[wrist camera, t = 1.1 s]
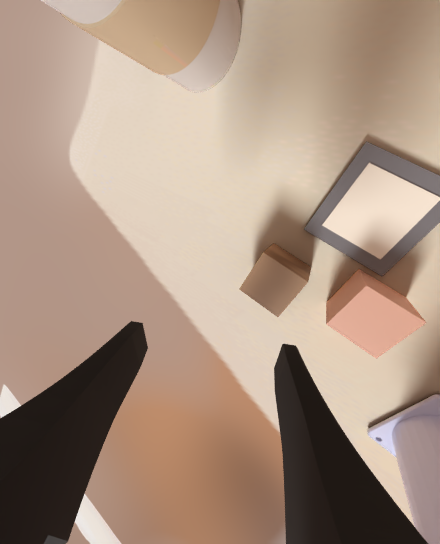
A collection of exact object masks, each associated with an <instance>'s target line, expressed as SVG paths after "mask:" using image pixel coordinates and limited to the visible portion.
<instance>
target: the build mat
mask: <svg viewBox="0 0 440 544" xmlns="http://www.w3.org/2000/svg"><path fill="white" fill-rule="evenodd" d="M438 223H440V176H439V175H437V174H435V173H433V172H431V171H429V170H426V169H424V168H422V167H420V166H418V165H416V164H414V163H411V162H409V161H407V160H405V159H403V158H401V157H399V156H397V155H394V154H392V153H390V152H388V151H386V150H384V149H382V148H379V147H377V146H375V145H373V144H371V143H369V142H367V141H366V143H365V144H364V146H363V147H362V148H361V150H360V151H359V153H358V154H357V155H356V157H355V158H354V160H353V161H352V162H351V164H350V165H349V167H348V168H347V169H346V171H345V172H344V174H343V175H342V176H341V178H340V179H339V181H338V182H337V183H336V185H335V186H334V188H333V189H332V190H331V192H330V193H329V195H328V196H327V197H326V199H325V200H324V202H323V203H322V204H321V206H320V207H319V209H318V210H317V211H316V213H315V214H314V216H313V217H312V218H311V220H310V221H309V223H308V224H307V225H306V227H305V228H304V230H306V231H307V232H309V233H311V234H312V235H314V236H316V237H317V238H319V239H321V240H322V241H324V242H326V243H327V244H329V245H331V246H332V247H334V248H336V249H337V250H339V251H341V252H342V253H344V254H346V255H347V256H349V257H351V258H352V259H354V260H356V261H357V262H359V263H361V264H362V265H364V266H366V267H367V268H369V269H371V270H372V271H374V272H376V273H377V274H379V275H381V276H383V275H384V274H385V273H386V272H387V271H389V270H390V269H391V268H392V267H393V266H394V265H395V264H396V263H397V262H398V261H399V260H400V259H401V258H402V257H403V256H404V255H406V254H407V253H408V252H409V251H410V250H411V249H412V248H413V247H414V246H415V245H416V244H417V243H418V242H419V241H420V240H421V239H423V238H424V237H425V236H426V235H427V234H428V233H429V232H430V231H431V230H432V229H433V228H434V227H435V226H436V225H437V224H438Z"/></svg>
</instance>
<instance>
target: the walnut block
mask: <svg viewBox="0 0 440 544" xmlns="http://www.w3.org/2000/svg"><path fill="white" fill-rule="evenodd" d="M310 271H311V267H310V266H309V265H307V264H306V263H304V262H302V261H301V260H299V259H298V258H296V257H295V256H293V255H292V254H290V253H288V252H287V251H285V250H284V249H282V248H281V247H279V246H277V245H276V244H272V245H271V246H270V247H269V248H268V249H266V250H265V251H264V252H263V253H262V255H261V256H260V258H259V259H258V261H257V262H256V264H255V266H254V267H253V269H252V270H251V272H250V273H249V275H248V276H247V278H246V280H245V281H244V283H243V284H242V286H241V287H240V290H241V291H242V292H244V293H245V294H247V295H248V296H249V297H251V298H252V299H254V300H255V301H256V302H258V303H259V304H260V305H262V306H263V307H265V308H266V309H267V310H269V311H270V312H271V313H273V314H274V315H276V316H277V317H279V316H280V314H281V313H282V312H283V311H284V310H285V308H286V307H287V306H288V305H289V304H290V303H291V301H292V300H293V299H294V298H295V297H296V295H297V294H298V293H299V292H300V291H301V290H302V288H303V287H304V286H305V285H306V284H307V283H308V280H309V275H310Z"/></svg>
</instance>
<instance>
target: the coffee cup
mask: <svg viewBox="0 0 440 544" xmlns="http://www.w3.org/2000/svg"><path fill="white" fill-rule="evenodd" d="M41 1H42V2H44V3H46V4H47V5H49V6H51V7H52V8H54V9H56V10H57V11H59V12H60V14H61V15H62V16H63V17H64V18H65V19H67V20H68V21H69V22H71V23H72V24H74V25H76V26H77V27H79V28H81V29H82V30H84V31H86V32H87V33H89V34H91V35H92V36H94V37H96V38H98V39H99V40H101V41H103V42H104V43H106V44H108V45H109V46H111V47H113V48H114V49H116V50H118V51H119V52H121V53H123V54H125V55H126V56H128V57H130V58H131V59H133V60H135V61H136V62H138V63H140V64H141V65H143V66H145V67H146V68H148V69H150V70H152V71H153V72H155V73H158V74H161V75H164V76H166V77H167V78H169V79H171V80H172V81H174V82H176V83H177V84H179V85H181V86H182V87H184V88H186V89H187V90H189V91H192V92H204V91H207V90H209V89H211V88H212V87H214V86H215V85H216V84H217V83H219V82H220V81H221V79H222V78H223V77H224V76H225V74H226V73H227V71H228V70H229V68H230V66H231V64H232V62H233V60H234V57H235V55H236V52H237V48H238V45H239V40H240V33H241V13H240V7H239V3H238V0H41Z"/></svg>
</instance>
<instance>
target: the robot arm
mask: <svg viewBox="0 0 440 544" xmlns="http://www.w3.org/2000/svg"><path fill="white" fill-rule="evenodd" d="M147 349H148V346H147V342H146V338H145V333H144V328H143V323H139V322H132V321H131V322H130V323H129V324H127V325H126V326H125V327H124V328H123V329H122V330H121V331H120V332H118V333H117V334H116V335H115V336H114V337H113V338H111V339H110V340H109V341H108V342H107V343H106V344H105V345H103V346H102V347H101V348H100V349H99V350H97V351H96V352H95V353H94V354H93V355H92V356H90V357H89V358H88V359H87V360H85V361H84V362H83V363H81V364H80V365H79V366H78V367H76V368H75V369H74V370H72V371H71V372H70V373H69V374H67V375H66V376H64V377H63V378H62V379H61V380H59V381H58V382H56V383H55V384H54V385H52V386H51V387H49V388H48V389H46V390H45V391H43V392H42V393H40V394H39V395H37V396H36V397H34V398H33V399H31V400H30V401H28V402H26V403H25V404H23V405H22V406H20V407H19V408H17V409H15V410H14V411H12V412H11V413H9V414H7V415H5V416H4V417H2V418H0V544H66V543H67V542H68V539H69V536H70V533H71V530H72V527H73V524H74V522H75V519H76V516H77V513H78V510H79V507H80V504H81V501H82V499H83V496H84V493H85V491H86V488H87V485H88V482H89V479H90V477H91V474H92V472H93V469H94V466H95V464H96V461H97V459H98V456H99V454H100V451H101V449H102V446H103V444H104V441H105V439H106V437H107V434H108V432H109V429H110V427H111V425H112V422H113V420H114V418H115V416H116V414H117V412H118V410H119V408H120V406H121V404H122V402H123V400H124V398H125V396H126V394H127V392H128V390H129V389H130V387H131V385H132V383H133V381H134V379H135V377H136V375H137V373H138V371H139V369H140V367H141V365H142V362H143V359H144V357H145V354H146V351H147ZM274 377H275V395H276V403H277V411H278V418H279V426H280V434H281V441H282V451H283V469H284V491H285V518H286V519H285V521H286V544H440V395H439V394H435V395H433V396H431V397H429V398H427V399H425V400H423V401H421V402H419V403H417V404H415V405H413V406H411V407H409V408H407V409H405V410H403V411H402V412H400V413H398V414H396V415H394V416H392V417H390V418H388V419H386V420H384V421H382V422H380V423H378V424H376V425H374V426H373V427H371V428H369V429H368V430H367V432H368V436H369V437H371V438H372V439H373V440H374V441H376V442H377V443H378V444H380V445H381V446H382V447H383V448H385V449H386V450H387V451H389V452H390V453H391V454H392V455H394V456H395V457H396V458H397V462H398V466H399V469H400V473H401V477H402V481H403V484H404V488H405V492H406V495H407V499H408V503H409V507H410V510H411V514H412V518H413V522H414V525H415V527H414V526H413V524H412V523H411V522H410V521H409V519H408V518H407V517H406V516H405V514H404V513H403V512H402V511H401V509H400V508H399V507H398V506H397V504H396V503H395V502H394V500H393V499H392V498H391V497H390V495H389V494H388V493H387V491H386V490H385V489H384V487H383V486H382V485H381V483H380V482H379V481H378V480H377V478H376V477H375V476H374V474H373V473H372V472H371V470H370V469H369V468H368V466H367V465H366V463H365V462H364V461H363V459H362V458H361V456H360V455H359V454H358V452H357V451H356V449H355V448H354V446H353V445H352V444H351V442H350V441H349V439H348V438H347V436H346V435H345V433H344V432H343V430H342V429H341V427H340V425H339V424H338V422H337V421H336V419H335V417H334V416H333V414H332V413H331V411H330V409H329V408H328V406H327V404H326V403H325V401H324V399H323V397H322V396H321V394H320V392H319V390H318V388H317V387H316V385H315V383H314V381H313V379H312V377H311V375H310V373H309V371H308V369H307V368H306V366H305V363H304V361H303V359H302V357H301V355H300V353H299V351H298V349H297V347H296V346H294V345H288V344H283V345H282V347H281V350H280V353H279V356H278V359H277V362H276V365H275V367H274ZM379 437H380V438H379Z"/></svg>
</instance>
